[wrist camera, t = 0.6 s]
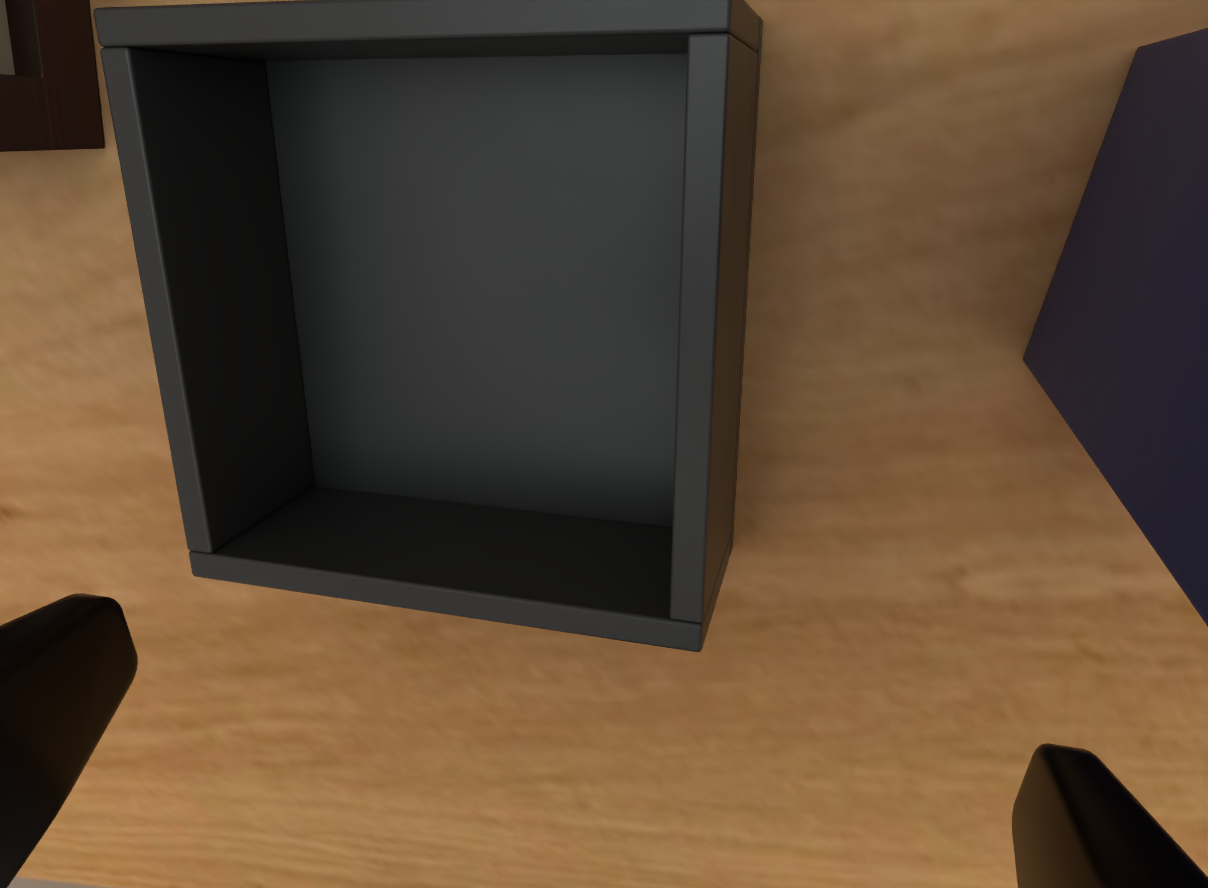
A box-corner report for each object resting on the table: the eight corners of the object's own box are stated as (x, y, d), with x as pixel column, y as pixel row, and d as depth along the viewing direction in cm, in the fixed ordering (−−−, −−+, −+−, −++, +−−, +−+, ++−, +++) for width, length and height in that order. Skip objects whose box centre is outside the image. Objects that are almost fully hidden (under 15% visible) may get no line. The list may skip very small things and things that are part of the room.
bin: (732, 549, 23) (701, 654, 18) (308, 497, 26) (191, 577, 21) (763, 18, 19) (731, -17, 14) (251, 32, 22) (90, 7, 17)
